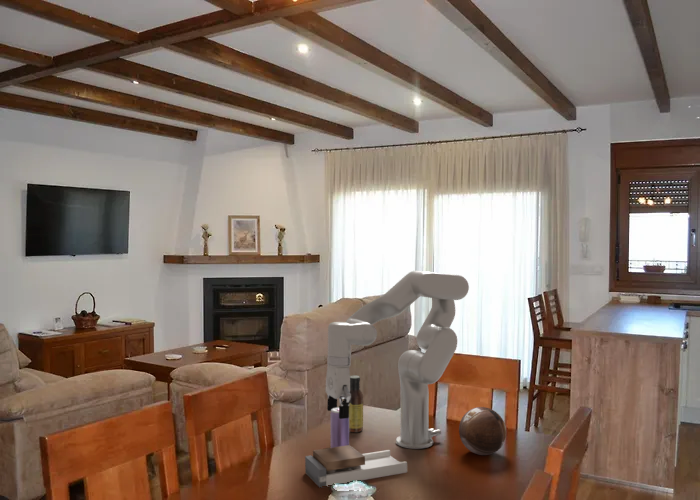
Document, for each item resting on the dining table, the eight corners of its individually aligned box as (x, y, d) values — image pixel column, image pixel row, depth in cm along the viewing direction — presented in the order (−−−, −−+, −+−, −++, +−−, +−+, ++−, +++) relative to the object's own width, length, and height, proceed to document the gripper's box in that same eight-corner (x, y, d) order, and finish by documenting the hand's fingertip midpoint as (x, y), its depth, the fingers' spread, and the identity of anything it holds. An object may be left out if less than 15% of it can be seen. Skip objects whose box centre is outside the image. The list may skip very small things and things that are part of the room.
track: (388, 459, 199) (388, 443, 199) (407, 472, 188) (407, 455, 188) (305, 472, 187) (305, 456, 187) (319, 487, 176) (319, 470, 176)
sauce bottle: (347, 427, 232) (347, 374, 231) (364, 428, 231) (364, 374, 230) (344, 433, 225) (344, 378, 225) (361, 433, 224) (361, 378, 224)
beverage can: (347, 459, 198) (347, 412, 198) (328, 458, 199) (328, 411, 199) (350, 453, 204) (350, 407, 204) (333, 452, 205) (332, 406, 205)
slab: (349, 460, 193) (349, 444, 193) (364, 472, 183) (364, 456, 182) (313, 466, 188) (313, 450, 188) (326, 479, 178) (326, 462, 178)
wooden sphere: (449, 452, 205) (449, 406, 204) (480, 443, 214) (480, 399, 214) (485, 465, 193) (485, 417, 193) (516, 455, 202) (516, 409, 202)
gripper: (318, 356, 207) (317, 408, 207) (338, 366, 191) (337, 422, 192) (339, 355, 210) (338, 406, 210) (361, 365, 194) (359, 420, 195)
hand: (337, 414), depth 201 cm, fingers open, 9 cm apart
